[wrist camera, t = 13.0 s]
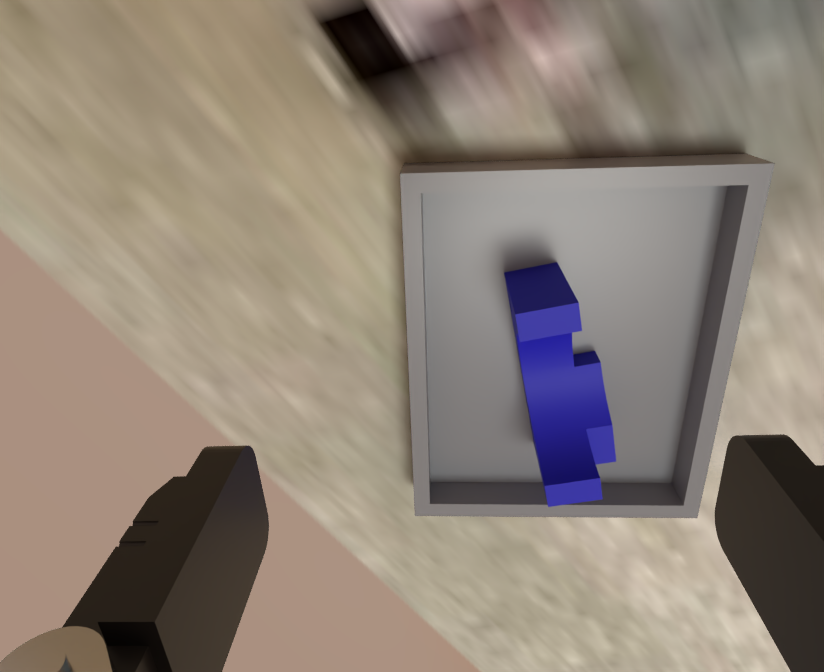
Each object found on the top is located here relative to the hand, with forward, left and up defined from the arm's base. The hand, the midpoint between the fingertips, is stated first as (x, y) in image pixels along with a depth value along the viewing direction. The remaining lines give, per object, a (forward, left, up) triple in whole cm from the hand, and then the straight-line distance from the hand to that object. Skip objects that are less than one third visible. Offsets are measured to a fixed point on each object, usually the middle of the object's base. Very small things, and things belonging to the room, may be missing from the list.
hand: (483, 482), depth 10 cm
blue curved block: (-6, +10, -24) cm, 27 cm away
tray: (-6, +10, -25) cm, 27 cm away
